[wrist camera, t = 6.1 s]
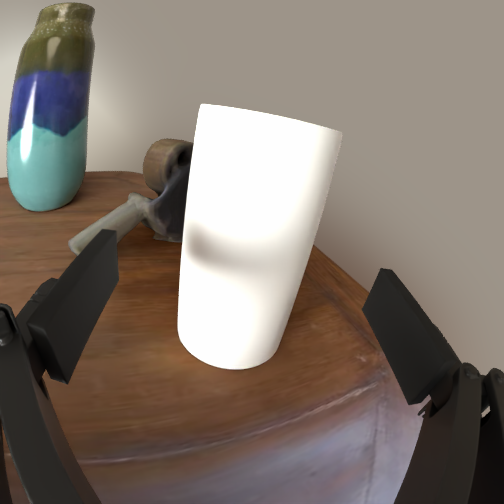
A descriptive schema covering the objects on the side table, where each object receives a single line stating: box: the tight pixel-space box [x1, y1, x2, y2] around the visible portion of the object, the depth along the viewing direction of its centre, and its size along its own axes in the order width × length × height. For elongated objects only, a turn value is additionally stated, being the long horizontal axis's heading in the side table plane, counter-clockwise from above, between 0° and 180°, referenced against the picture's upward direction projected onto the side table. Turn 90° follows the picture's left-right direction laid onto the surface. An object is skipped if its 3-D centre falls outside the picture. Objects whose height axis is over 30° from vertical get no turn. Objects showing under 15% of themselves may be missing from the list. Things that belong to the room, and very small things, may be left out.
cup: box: [178, 104, 343, 369], centre depth 19 cm, size 8×8×16 cm
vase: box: [7, 3, 95, 212], centre depth 29 cm, size 14×14×31 cm
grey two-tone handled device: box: [68, 139, 194, 256], centre depth 29 cm, size 21×6×12 cm, turn 147°
